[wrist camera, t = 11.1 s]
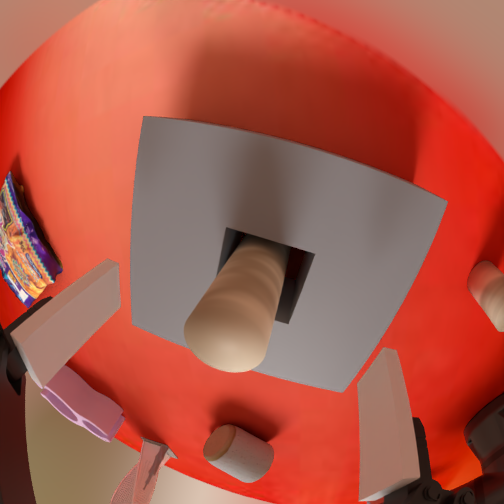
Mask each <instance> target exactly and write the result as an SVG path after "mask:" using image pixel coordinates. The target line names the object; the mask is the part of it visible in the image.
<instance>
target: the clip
mask: <svg viewBox="0 0 504 504" xmlns="http://www.w3.org/2000/svg"><path fill="white" fill-rule="evenodd" d="M35 383H36V382H35ZM36 384H37V385H38V386H39V387H40V388H41V389H43V388H42V387H41V386H40V385H39V384H38V383H36ZM44 388H45V389H44V390H43V391H42V392H41V395H42V396H43V397H44V398H46V399H47V400H48V401H49V402H50V403H51V404H52V405H53V406H54V407H55V408H56V409H57V410H58V411H59V412H60V413H61V414H62V415H64V416H65V417H66V418H68V419H69V420H71V421H72V422H74V423H75V424H77V425H80V426H83V427H85V428H86V429H88V430H89V431H90V432H91V433H93V434H94V435H96V436H97V437H99V438H101V439H102V440H105V441H107V442H111V441H112V439H113V438H114V436H115V434H116V433H117V431H118V430H119V428H120V426H121V425H122V423H123V422H124V420H125V417H123V416H122V415H121V414H122V413H123V409H122V408H121V407H120V406H119V405H118V404H116V403H115V402H114V401H113V400H111V399H110V398H108V397H107V396H105V395H103V394H101V393H98V392H97V391H95V390H94V389H92V388H91V387H90V386H89V385H88V384H87V383H86V382H85V381H84V380H83V379H82V378H81V377H80V376H79V375H78V374H77V373H75V372H74V371H73V370H72V369H70V368H69V367H67V366H66V365H64V366H63V367H62V368H61V369H60V370H59V371H58V372H57V373H56V374H55V375H54V377H53V378H52V379H51V380H50V381H49V382H48V383H47V384H46V385H45V387H44Z"/></svg>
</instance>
